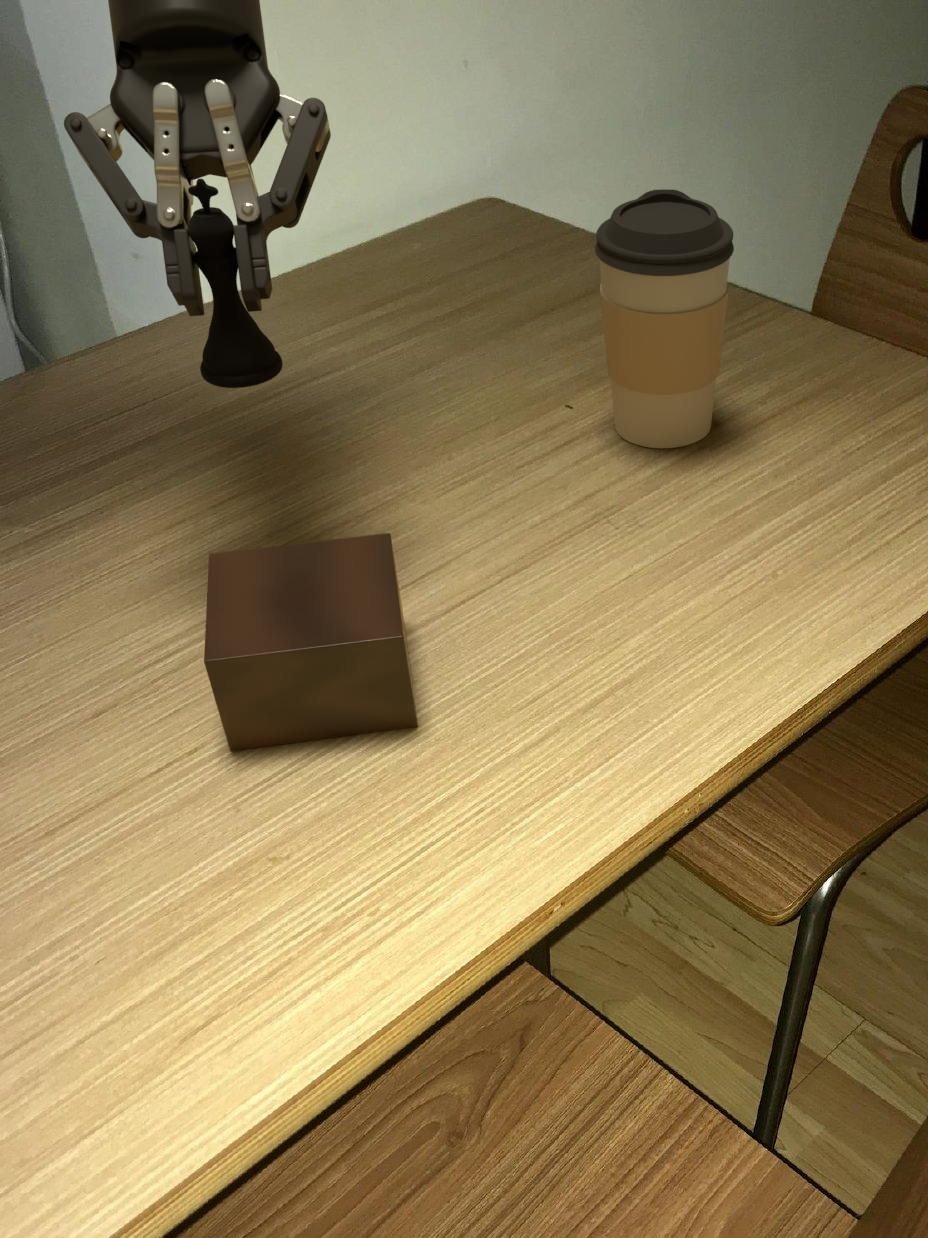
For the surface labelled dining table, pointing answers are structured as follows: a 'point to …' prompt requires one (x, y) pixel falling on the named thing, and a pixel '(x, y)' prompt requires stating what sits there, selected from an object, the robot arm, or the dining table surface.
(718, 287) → the coffee cup
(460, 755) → the dining table surface
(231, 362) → the chess piece
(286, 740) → the brown metal block
